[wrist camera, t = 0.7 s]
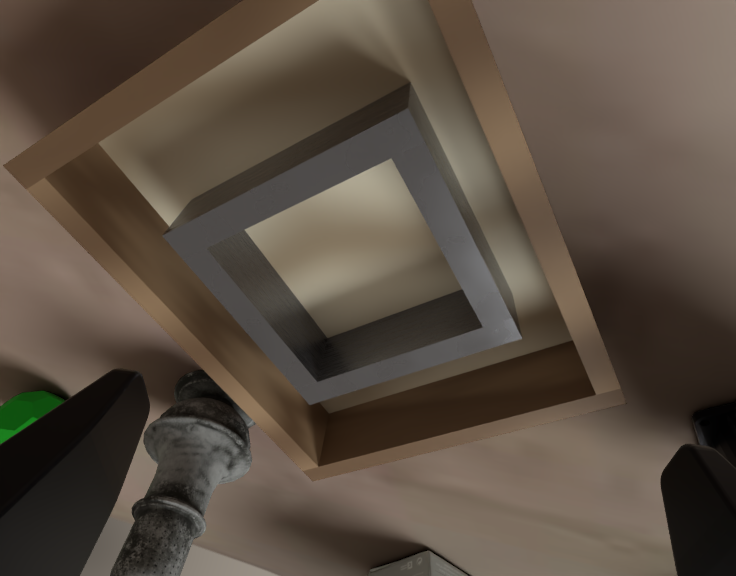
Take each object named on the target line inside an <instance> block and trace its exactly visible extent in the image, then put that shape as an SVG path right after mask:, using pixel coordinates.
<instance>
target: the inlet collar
mask: <svg viewBox="0 0 736 576" xmlns="http://www.w3.org/2000/svg"><path fill="white" fill-rule="evenodd" d="M391 158H392V160H393V162H394V164H395V166H396V168H397V169H398V171H399V173H400V175H401V177H402V179H403V180H404V182H405V184H406V186H407V188H408V190H409V192H410V193H411V195H412V197H413V199H414V201H415V203H416V204H417V206H418V208H419V210H420V212H421V214H422V216H423V217H424V219H425V221H426V223H427V225H428V227H429V228H430V230H431V232H432V234H433V236H434V238H435V240H436V241H437V243H438V245H439V247H440V249H441V251H442V252H443V254H444V256H445V258H446V260H447V262H448V263H449V265H450V267H451V269H452V271H453V273H454V275H455V276H456V278H457V280H458V282H459V284H460V286H461V287H462V289H461V290H459V291H456V292H453V293H450V294H448V295H445V296H442V297H439V298H437V299H434V300H431V301H428V302H426V303H423V304H420V305H417V306H415V307H412V308H409V309H406V310H404V311H401V312H398V313H395V314H393V315H390V316H387V317H384V318H382V319H379V320H376V321H373V322H371V323H368V324H365V325H362V326H359V327H357V328H354V329H351V330H348V331H346V332H343V333H340V334H337V335H335V336H332V337H329V338H327V337H326V335H325V334H324V333H323V332H322V330H321V329H320V328H319V326H318V325H317V324H316V322H315V321H314V320H313V318H312V317H311V316H310V315H309V313H308V312H307V311H306V309H305V308H304V307H303V305H302V304H301V303H300V301H299V300H298V299H297V298H296V296H295V295H294V294H293V292H292V291H291V290H290V288H289V287H288V286H287V285H286V283H285V282H284V281H283V279H282V278H281V277H280V275H279V274H278V273H277V271H276V270H275V269H274V268H273V266H272V265H271V264H270V262H269V261H268V260H267V258H266V257H265V256H264V254H263V253H262V252H261V251H260V249H259V248H258V247H257V245H256V244H255V243H254V241H253V240H252V239H251V238H250V236H249V235H248V234H247V232H246V231H245V229H247V228H249V227H251V226H253V225H255V224H257V223H259V222H261V221H263V220H265V219H267V218H270V217H272V216H274V215H276V214H278V213H280V212H282V211H284V210H286V209H288V208H290V207H292V206H294V205H296V204H298V203H300V202H302V201H305V200H307V199H309V198H311V197H313V196H315V195H317V194H319V193H321V192H323V191H325V190H327V189H329V188H331V187H333V186H335V185H337V184H340V183H342V182H344V181H346V180H348V179H350V178H352V177H354V176H356V175H358V174H360V173H362V172H364V171H366V170H368V169H370V168H372V167H374V166H377V165H379V164H381V163H383V162H385V161H387V160H389V159H391ZM162 236H163V237H164V239H165V240H166V241H167V242H168V243H169V244H170V245H171V247H172V248H173V249H174V250H175V251H176V252H177V254H178V255H179V256H180V257H181V258H182V259H183V260H184V262H185V263H186V264H187V265H188V266H189V267H190V268H191V270H192V271H193V272H194V273H195V274H196V275H197V276H198V278H199V279H200V280H201V281H202V282H203V283H204V284H205V286H206V287H207V288H208V289H209V290H210V291H211V293H212V294H213V295H214V296H215V297H216V298H217V299H218V301H219V302H220V303H221V304H222V305H223V306H224V307H225V309H226V310H227V311H228V312H229V313H230V314H231V315H232V317H233V318H234V319H235V320H236V321H237V322H238V323H239V325H240V326H241V327H242V328H243V329H244V330H245V332H246V333H247V334H248V335H249V336H250V337H251V338H252V340H253V341H254V342H255V343H256V344H257V345H258V346H259V348H260V349H261V350H262V351H263V352H264V353H265V354H266V356H267V357H268V358H269V359H270V360H271V361H272V362H273V364H274V365H275V366H276V367H277V368H278V369H279V371H280V372H281V373H282V374H283V375H284V376H285V377H286V379H287V380H288V381H289V382H290V383H291V384H292V385H293V387H294V388H295V389H296V390H297V391H298V392H299V393H300V395H301V396H302V397H303V398H304V399H305V400H306V401H307V403H308V404H309V405H312V404H315V403H318V402H321V401H324V400H328V399H331V398H334V397H337V396H340V395H343V394H347V393H350V392H353V391H356V390H359V389H363V388H366V387H369V386H372V385H375V384H379V383H382V382H385V381H388V380H391V379H395V378H398V377H401V376H404V375H407V374H411V373H414V372H417V371H420V370H423V369H427V368H430V367H433V366H436V365H439V364H443V363H446V362H449V361H452V360H455V359H459V358H462V357H465V356H468V355H471V354H475V353H478V352H481V351H484V350H487V349H491V348H494V347H497V346H500V345H503V344H507V343H510V342H513V341H516V340H519V339H522V335H521V330H520V326H519V321H518V316H517V312H516V307H515V303H514V298H513V294H512V292H511V290H510V287H509V285H508V283H507V281H506V279H505V277H504V275H503V273H502V271H501V269H500V267H499V265H498V262H497V260H496V258H495V256H494V254H493V252H492V250H491V248H490V246H489V244H488V242H487V240H486V237H485V235H484V233H483V231H482V229H481V227H480V225H479V223H478V221H477V219H476V217H475V215H474V212H473V210H472V208H471V206H470V204H469V202H468V200H467V198H466V196H465V194H464V192H463V190H462V187H461V185H460V183H459V181H458V179H457V177H456V175H455V173H454V171H453V169H452V167H451V164H450V162H449V160H448V158H447V156H446V154H445V152H444V150H443V148H442V146H441V144H440V142H439V139H438V137H437V135H436V133H435V131H434V129H433V127H432V125H431V123H430V121H429V119H428V117H427V114H426V112H425V110H424V108H423V106H422V104H421V102H420V100H419V98H418V96H417V94H416V92H415V89H414V87H413V85H412V83H411V82H409V83H407V84H405V85H404V86H402V87H400V88H398V89H396V90H394V91H392V92H390V93H389V94H387V95H385V96H383V97H381V98H379V99H377V100H376V101H374V102H372V103H370V104H368V105H366V106H364V107H363V108H361V109H359V110H357V111H355V112H353V113H351V114H350V115H348V116H346V117H344V118H342V119H340V120H338V121H337V122H335V123H333V124H331V125H329V126H327V127H325V128H324V129H322V130H320V131H318V132H316V133H314V134H312V135H311V136H309V137H307V138H305V139H303V140H301V141H299V142H298V143H296V144H294V145H292V146H290V147H288V148H286V149H285V150H283V151H281V152H279V153H277V154H275V155H273V156H272V157H270V158H268V159H266V160H264V161H262V162H260V163H258V164H257V165H255V166H253V167H251V168H249V169H247V170H245V171H244V172H242V173H240V174H238V175H236V176H234V177H232V178H231V179H229V180H227V181H225V182H223V183H221V184H219V185H218V186H216V187H214V188H212V189H210V190H208V191H206V192H205V193H203V194H201V195H199V196H197V197H195V198H193V199H192V200H191V201H190V202H189V203H188V204H187V206H186V207H185V208H184V209H183V210H182V212H181V213H180V214H179V215H178V217H177V218H176V219H175V220H174V222H173V223H172V224H171V225H170V226H169V228H168V229H167V230H166V231H165V233H164V234H163V235H162Z"/></svg>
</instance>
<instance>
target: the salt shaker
mask: <svg viewBox="0 0 736 576" xmlns="http://www.w3.org/2000/svg"><path fill="white" fill-rule="evenodd" d="M174 396H175V400H176V404H175V405H173V406H172V407H171V408H169V409H168V410H167V411H166V412H164V413H163V414H162V415H161V417H160V418H159V419H157V420H155V421H154V422H152V423H151V424H150V425H149V426H148V428H147V429H146V431H145V433H144V441H143V442H144V445H145V448H146V451H147V452H148V454H149V455H150V456H151V458H152V459H153V460H154V461H155V462H156V463H157V464H158V467H157V471H156V474H155V477H154V479H153V481H152V483H151V485H150V487H149V489H148V491H147V493H146V495H145V497H144V498H143V499H140V500H139V501H137V502H135V504H134V505H133V507H132V515H133V517H134V519H135V522H134V524H133V526H132V529H131V530H130V533H129V535H128V537H127V539H126V541H125V543H124V545H123V547H122V549H121V552H120V553H119V556H118V558H117V560H116V562H115V564H114V566H113V568H112V571H111V574H110V576H180V574H181V571H182V569H183V566H184V563H185V561H186V558H187V555H188V552H189V550H190V547H191V544H192V542H193V539H195V538H197V537H199V536H201V535H202V534H203V533H204V532H205V529H206V522H205V519H204V518H203V517H204V514H205V511H206V508H207V506H208V503H209V500H210V498H211V495H212V492H213V491H214V489H215V488H216V486H217V484H224V483H228V482H232V481H235V480H237V479H239V478H241V477H243V476H244V475H245V474H246V473H247V472H248V470H249V468H250V465H251V462H252V457H251V452H250V450H249V449H250V439H249V431H248V428H250V427H251V426H253V425H255V424H256V423H255V422H254V421H253V420H252V419H251V418H250V417H249V416H248V415H247V414H246V413H245V412H244V411H243V410H242V409H241V408H240V407H239V406H238V405H237V404H236V403H235V402H234V401H233V400H232V399H231V398H230V396H229V395H228V394H227V393H226V392H225V391H224V390H223V389H222V388H221V387H220V386H219V385H218V384H217V383H216V382H215V381H214V380H213V379H212V378H211V377H210V376H209V375H208V374H207V373H206V372H205V371H204V370H199V371H194V372H191V373H188V374H186V375H185V376H183V377H182V378H180V380H179V381H178V383H177V384H176V386H175V391H174Z"/></svg>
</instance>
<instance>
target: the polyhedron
mask: <svg viewBox="0 0 736 576" xmlns="http://www.w3.org/2000/svg"><path fill="white" fill-rule="evenodd" d="M65 401H66V400H64V399H62V398H60V397H58V396H56V395H54V394H52V393H49V392H46V391H35V392H25V393H21V394H19V395H17V396H15V397H13V398H11V399H10V400H9V401H7V402H6V403H4V404H3V405H2V406H0V444H1V443H3V442H4V441H6V440H7V439H9V438H10V437H12V436H13V435H15V434H16V433H18V432H19V431H21V430H22V429H24V428H25V427H27V426H28V425H30V424H31V423H33V422H34V421H36V420H37V419H39V418H40V417H42V416H44V415H45V414H47V413H48V412H50V411H51V410H53V409H54V408H56V407H57V406H59V405H60V404H62V403H63V402H65Z"/></svg>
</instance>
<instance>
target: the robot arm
mask: <svg viewBox="0 0 736 576" xmlns="http://www.w3.org/2000/svg"><path fill="white" fill-rule="evenodd" d="M149 410H150V403H149V398H148V395H147V391H146V387H145V383H144V379H143V376H142V374H141V373H140V372H139V371H135V370H127V369H114V370H112V371H110V372H108V373H107V374H105V375H104V376H102V377H101V378H99V379H98V380H96V381H95V382H93V383H92V384H90V385H89V386H87V387H86V388H84V389H83V390H81V391H80V392H78V393H77V394H75V395H74V396H72V397H71V398H69V399H68V400H66V401H65V402H63V403H62V404H60V405H59V406H57V407H56V408H54V409H53V410H51V411H50V412H48V413H47V414H45V415H44V416H42V417H40V418H39V419H37V420H36V421H34V422H33V423H31V424H30V425H28V426H27V427H25V428H24V429H22V430H21V431H19V432H18V433H16V434H15V435H13V436H12V437H10V438H9V439H7V440H6V441H4V442H3V443H1V444H0V576H80V574H81V572H82V570H83V568H84V566H85V564H86V562H87V560H88V558H89V556H90V554H91V552H92V550H93V548H94V546H95V544H96V542H97V540H98V538H99V536H100V534H101V532H102V530H103V528H104V526H105V524H106V522H107V520H108V518H109V516H110V514H111V512H112V510H113V507H114V505H115V503H116V501H117V499H118V496H119V494H120V491H121V489H122V486H123V483H124V481H125V478H126V475H127V472H128V470H129V467H130V464H131V462H132V459H133V456H134V454H135V451H136V448H137V445H138V443H139V440H140V437H141V435H142V432H143V429H144V426H145V424H146V421H147V418H148V415H149ZM692 423H693V426H694V429H695V433H696V436H697V440H698V443H699V445H695V444H685V445H683V446H681V447H680V448H679V450H678V451H677V452H676V454H675V455H674V456H673V458H672V459H671V461H670V462H669V463H668V465H667V466H666V467H665V469H664V470H663V472H662V475H661V491H662V496H663V502H664V507H665V512H666V518H667V523H668V529H669V534H670V539H671V545H672V550H673V556H674V561H675V566H676V571H677V575H678V576H736V403H732V404H728V405H724V406H719V407H715V408H711V409H706V410H702V411H699V412H696V413H695V414H693V416H692Z"/></svg>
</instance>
